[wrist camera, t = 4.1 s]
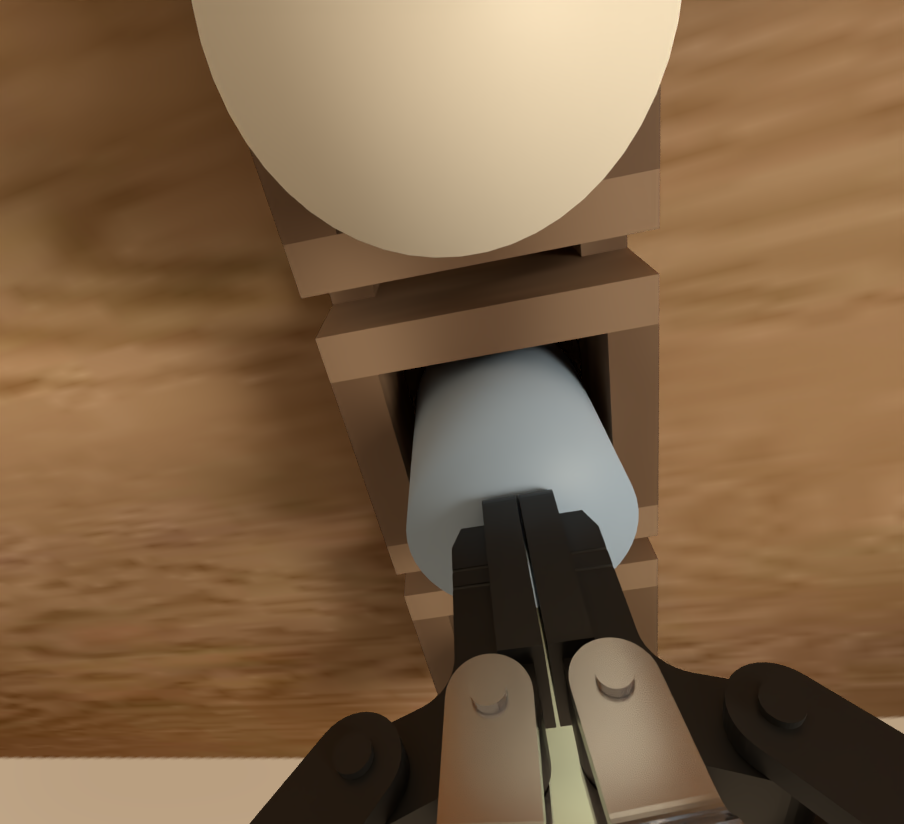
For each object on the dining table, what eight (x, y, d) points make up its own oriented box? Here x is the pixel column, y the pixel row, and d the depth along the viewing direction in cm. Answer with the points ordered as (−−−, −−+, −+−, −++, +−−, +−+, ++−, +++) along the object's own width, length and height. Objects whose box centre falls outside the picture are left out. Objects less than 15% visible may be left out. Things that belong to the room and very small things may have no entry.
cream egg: (624, 28, 10) (787, -32, 5) (457, 238, 12) (468, 332, 7) (414, -215, 9) (381, -613, 4) (259, 72, 10) (104, 54, 6)
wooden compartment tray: (597, -252, 10) (662, -398, 7) (629, 633, 24) (657, 713, 21) (206, -148, 11) (115, -241, 8) (451, 657, 24) (453, 738, 21)
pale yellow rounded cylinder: (637, 634, 19) (703, 814, 14) (540, 699, 21) (570, 878, 16) (536, 572, 18) (572, 753, 13) (441, 650, 20) (441, 832, 15)
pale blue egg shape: (614, 392, 16) (687, 516, 12) (504, 493, 18) (526, 636, 13) (490, 291, 15) (514, 387, 10) (383, 414, 17) (359, 545, 12)
